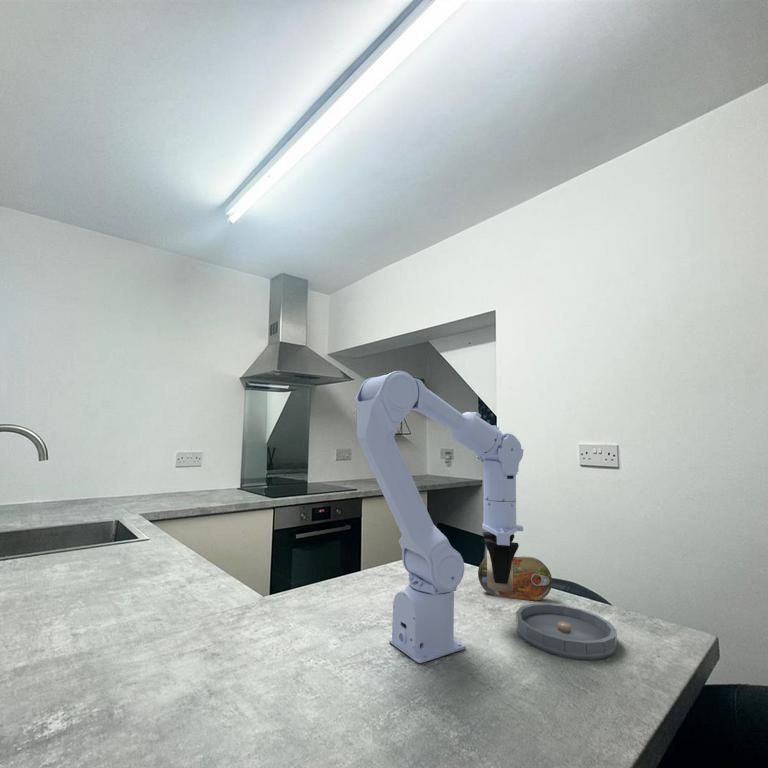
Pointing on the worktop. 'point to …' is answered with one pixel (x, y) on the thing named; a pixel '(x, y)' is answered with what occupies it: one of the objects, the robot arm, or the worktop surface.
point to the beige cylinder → (490, 578)
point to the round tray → (566, 631)
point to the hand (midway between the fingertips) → (499, 578)
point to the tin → (522, 579)
